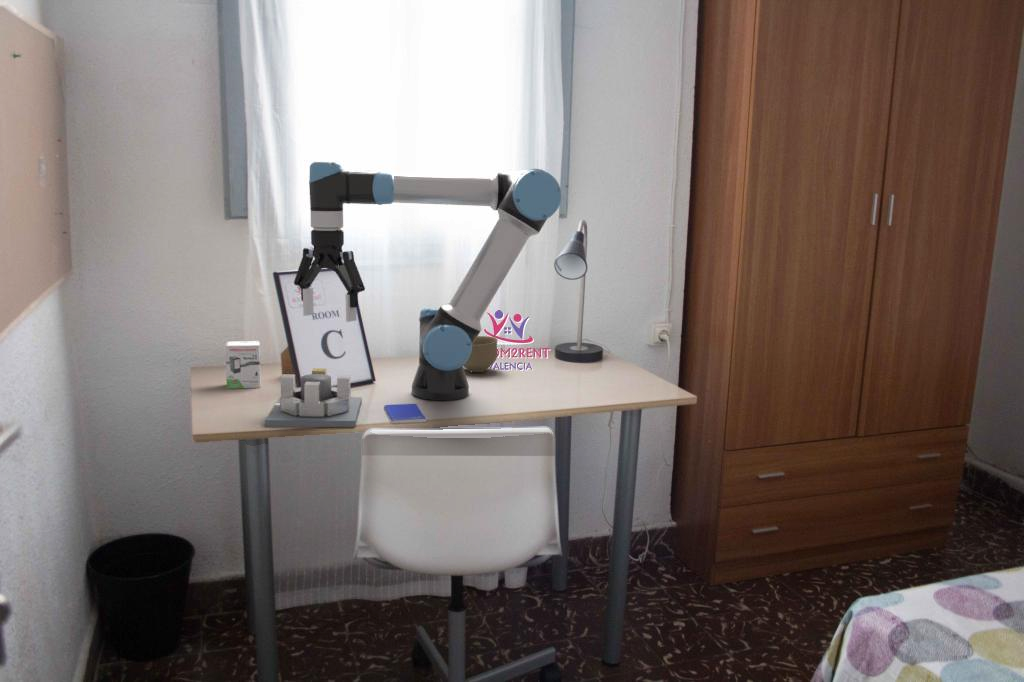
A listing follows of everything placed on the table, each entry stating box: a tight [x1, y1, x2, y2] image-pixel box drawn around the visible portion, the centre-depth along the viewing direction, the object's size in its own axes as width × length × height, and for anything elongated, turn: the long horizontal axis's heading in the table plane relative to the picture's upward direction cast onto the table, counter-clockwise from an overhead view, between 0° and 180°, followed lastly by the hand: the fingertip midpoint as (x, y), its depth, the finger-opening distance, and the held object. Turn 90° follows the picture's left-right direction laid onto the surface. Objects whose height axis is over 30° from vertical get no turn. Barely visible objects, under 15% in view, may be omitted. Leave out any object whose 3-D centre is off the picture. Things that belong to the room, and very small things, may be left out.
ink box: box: [225, 340, 261, 390], centre depth 216 cm, size 9×5×12 cm, turn 107°
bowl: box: [463, 335, 498, 373], centre depth 243 cm, size 13×13×10 cm
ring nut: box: [279, 367, 352, 417], centre depth 195 cm, size 16×16×8 cm
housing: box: [264, 373, 363, 428], centre depth 195 cm, size 20×20×9 cm
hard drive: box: [383, 403, 427, 425], centre depth 198 cm, size 2×8×12 cm
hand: (329, 318), depth 197 cm, fingers open, 13 cm apart
